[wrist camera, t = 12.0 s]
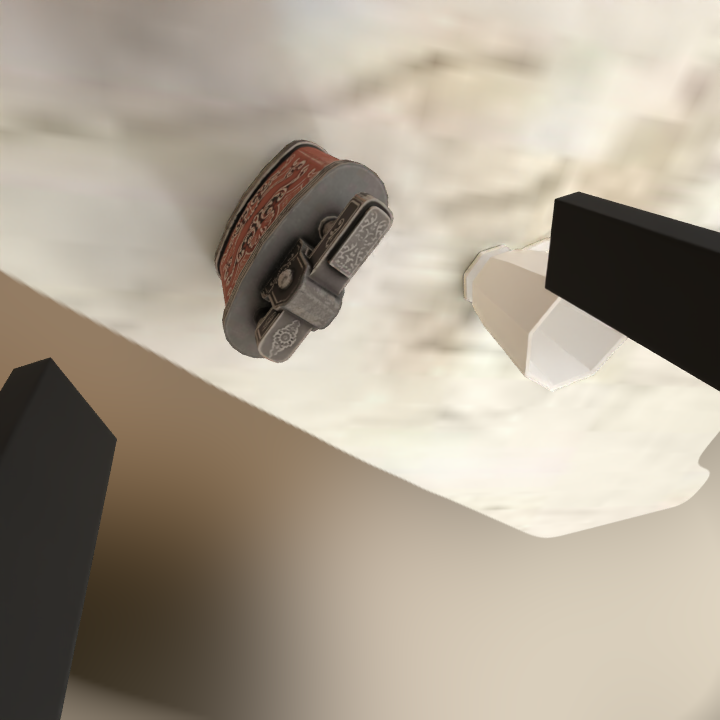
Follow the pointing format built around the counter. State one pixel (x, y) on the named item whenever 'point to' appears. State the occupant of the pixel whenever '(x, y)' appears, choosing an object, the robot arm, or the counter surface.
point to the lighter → (296, 248)
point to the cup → (536, 317)
